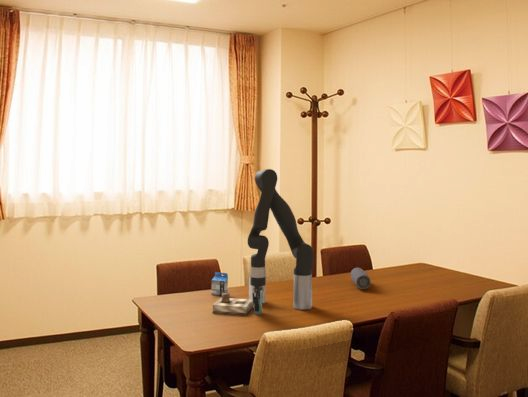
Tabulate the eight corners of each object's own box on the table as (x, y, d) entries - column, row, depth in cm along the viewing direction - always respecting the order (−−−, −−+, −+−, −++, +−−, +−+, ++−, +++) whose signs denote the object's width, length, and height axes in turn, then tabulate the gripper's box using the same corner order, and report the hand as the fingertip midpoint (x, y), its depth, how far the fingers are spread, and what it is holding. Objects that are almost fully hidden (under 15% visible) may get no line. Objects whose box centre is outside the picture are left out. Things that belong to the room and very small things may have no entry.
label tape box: (211, 294, 288) (210, 273, 287) (215, 293, 291) (214, 271, 291) (224, 296, 284) (224, 274, 283) (228, 294, 287) (228, 273, 287)
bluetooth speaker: (371, 291, 295) (371, 274, 295) (355, 291, 296) (355, 274, 295) (364, 282, 318) (364, 266, 318) (349, 282, 318) (349, 266, 318)
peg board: (252, 307, 262) (252, 291, 262) (246, 315, 248) (246, 298, 248) (220, 305, 266) (220, 290, 265) (212, 312, 252) (212, 296, 251)
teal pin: (262, 312, 253) (262, 294, 252) (261, 314, 249) (261, 296, 248) (254, 311, 254) (254, 294, 253) (253, 314, 250) (253, 296, 249)
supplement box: (251, 304, 267) (251, 280, 267) (248, 300, 274) (248, 277, 274) (265, 303, 269) (265, 279, 268) (261, 299, 276) (261, 276, 276)
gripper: (262, 279, 242) (262, 314, 244) (268, 272, 256) (268, 306, 257) (247, 278, 244) (247, 313, 245) (253, 272, 258) (253, 305, 259)
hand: (258, 309), depth 251 cm, fingers closed on teal pin, 4 cm apart
